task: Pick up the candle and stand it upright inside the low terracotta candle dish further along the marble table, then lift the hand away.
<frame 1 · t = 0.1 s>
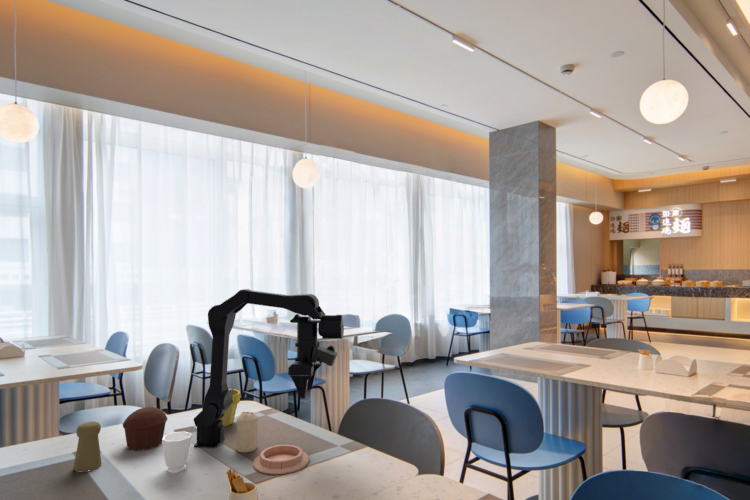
hand: (306, 393, 127), 15 cm above the table, fingers open, 9 cm apart
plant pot: (223, 423, 145), on the table
cork: (87, 468, 113), on the table
muffin: (144, 445, 127), on the table
candle dish: (281, 462, 116), on the table
candle: (246, 449, 124), on the table
cup: (180, 467, 113), on the table
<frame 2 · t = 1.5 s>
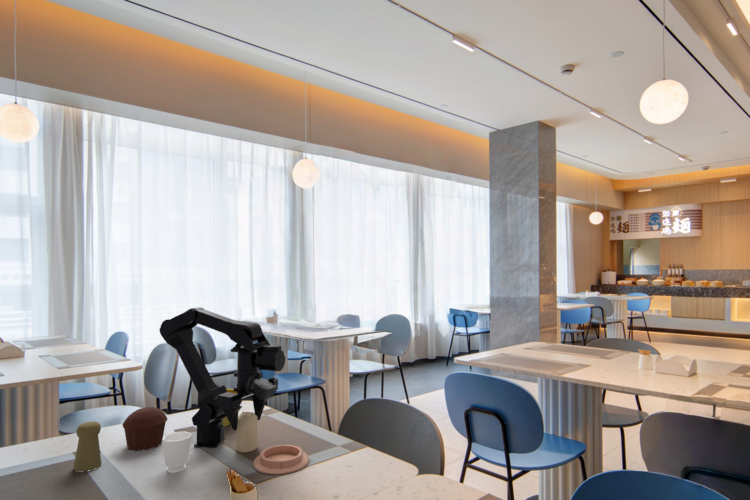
hand: (246, 424, 125), 6 cm above the table, fingers open, 9 cm apart
nothing on the table moved.
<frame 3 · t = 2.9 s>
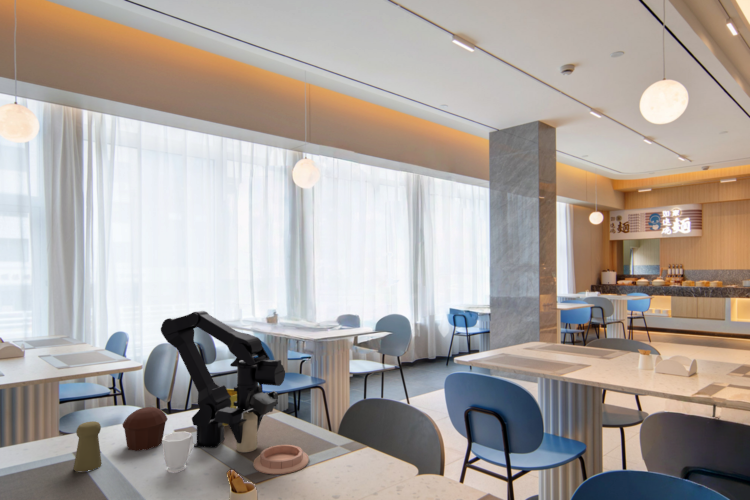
hand: (246, 439, 124), 3 cm above the table, fingers closed on candle, 5 cm apart
candle: (246, 449, 124), on the table, touching gripper
everything else where it was.
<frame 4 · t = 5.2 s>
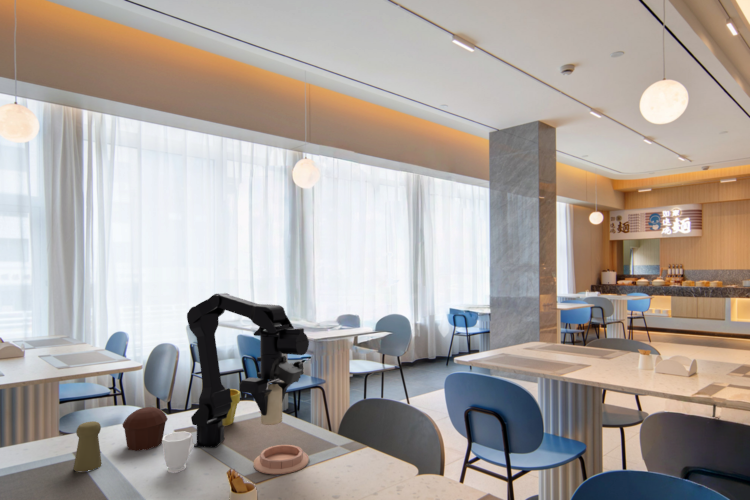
hand: (271, 412, 119), 12 cm above the table, fingers closed on candle, 5 cm apart
candle: (271, 422, 119), point 9 cm above the table, touching gripper
everything else where it was.
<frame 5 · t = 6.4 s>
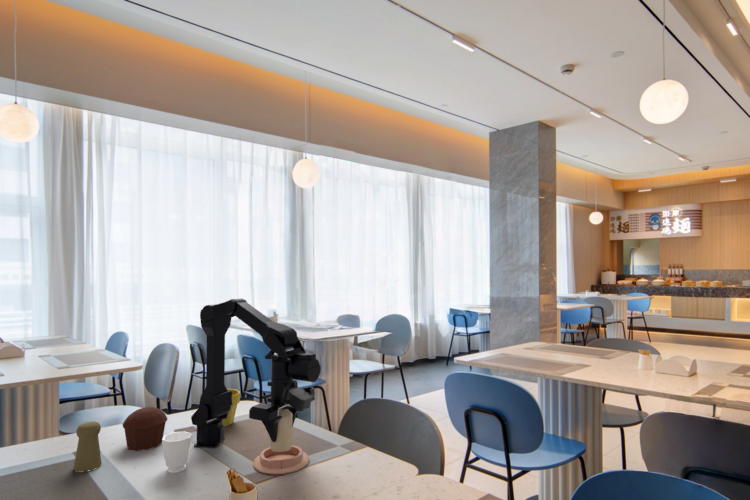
hand: (281, 437, 116), 6 cm above the table, fingers closed on candle, 5 cm apart
candle: (281, 448, 116), point 3 cm above the table, touching gripper
everything else where it was.
when the fingers open (4 cm above the table, at t = 7.6 s): candle drops 1 cm, resting on candle dish.
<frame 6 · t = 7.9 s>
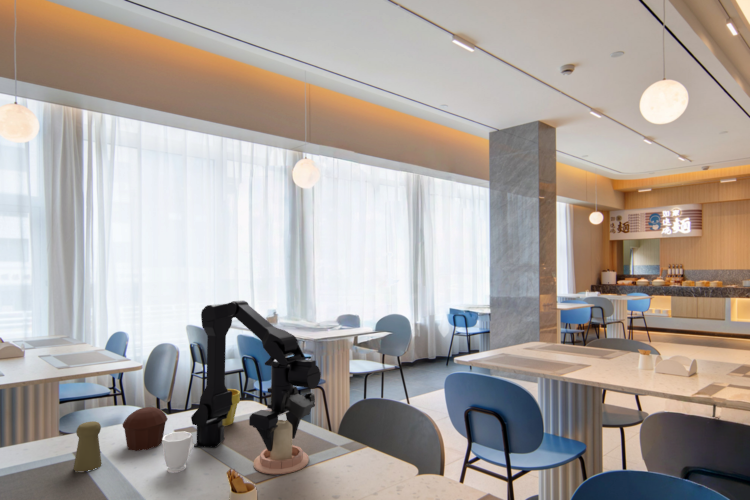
hand: (281, 444, 116), 4 cm above the table, fingers open, 9 cm apart
candle: (281, 460, 116), resting on candle dish
everything else where it was.
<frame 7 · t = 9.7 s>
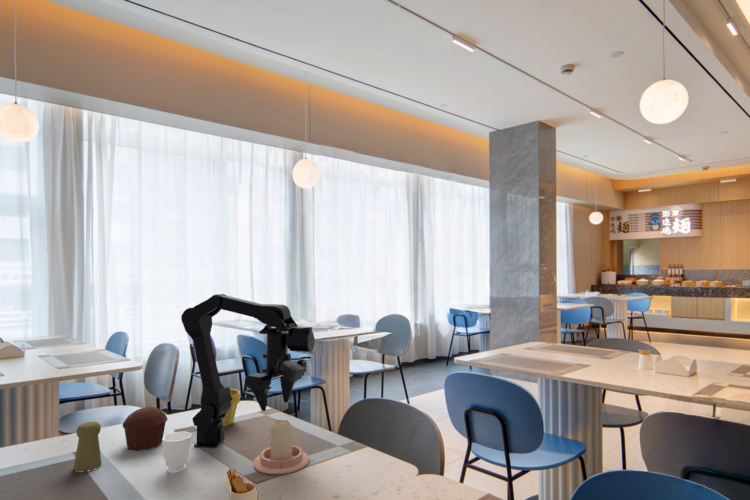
hand: (275, 406, 125), 12 cm above the table, fingers open, 9 cm apart
nothing on the table moved.
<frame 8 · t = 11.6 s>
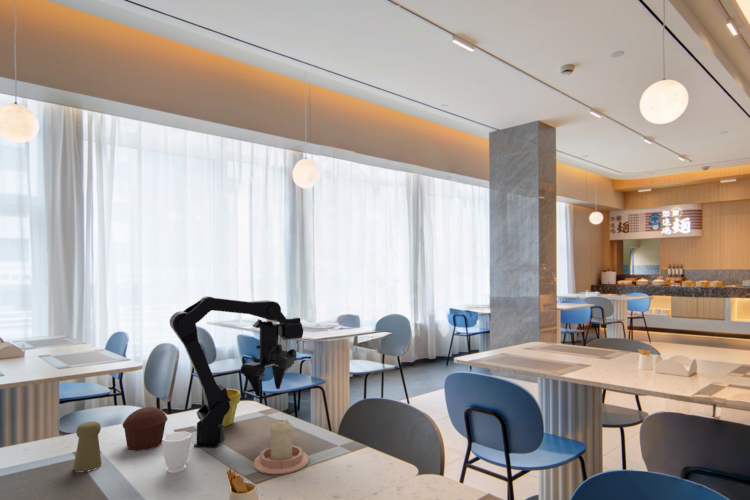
hand: (268, 392, 138), 12 cm above the table, fingers open, 9 cm apart
nothing on the table moved.
at the end: candle 0.1 cm off-centre on the candle dish, point 0.4 cm above the candle dish's base; candle tilted 0°; the gripper is holding nothing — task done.
